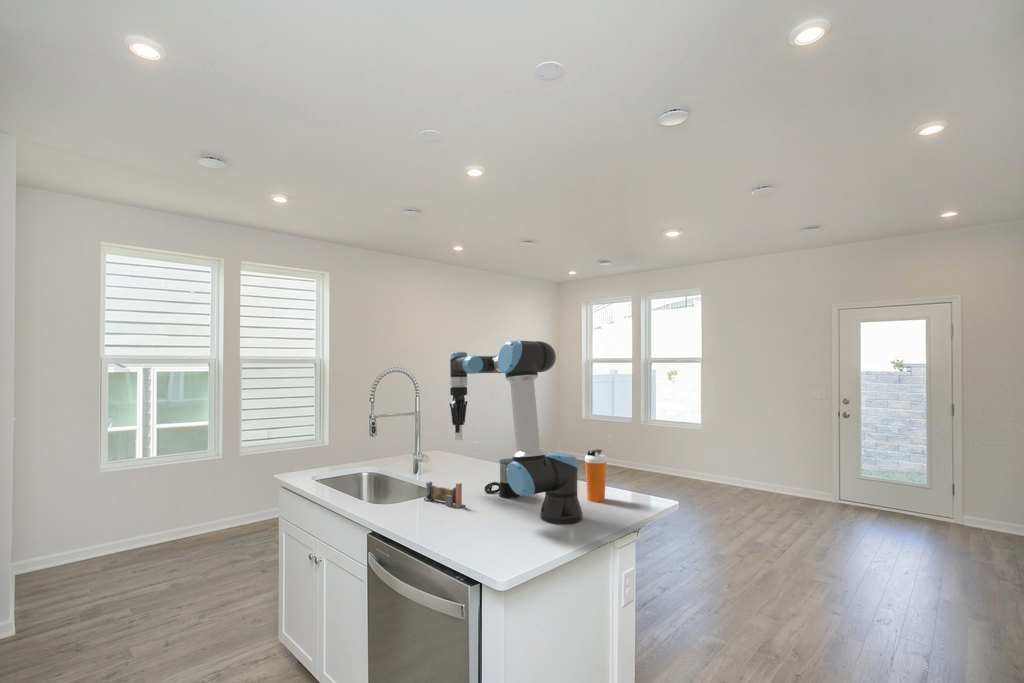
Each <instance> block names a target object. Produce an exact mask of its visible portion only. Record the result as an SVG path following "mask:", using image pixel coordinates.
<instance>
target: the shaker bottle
mask: <svg viewBox="0 0 1024 683" xmlns="http://www.w3.org/2000/svg"><path fill="white" fill-rule="evenodd" d="M603 451H604V450H603V449H593V450H587V452H586V453H587V454H586V455H585V456H584V462H585V475H586V476H585V477H586V481H585V482H586V495H587V496H586V497H587V499H586V500H588V501H589V502H593V503H601V502H604V501H605V499H606V479H607V478H606V474H607V462H608V461H607V460H608V458H607V456H606V455H605V454H604V453H602V452H603Z"/></svg>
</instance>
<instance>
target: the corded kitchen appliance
mask: <svg viewBox="0 0 1024 683" xmlns="http://www.w3.org/2000/svg"><path fill="white" fill-rule="evenodd" d="M498 462H499V482H498V481H493V482H490V483H487V484H486V485H485V486H484V491H485V492H486V493H487V494H495V493H499V497H501V498H504V499H516V498H519V497H521V495H518V494H516V493H515V492H514V491H513V490H512V488H511V487H510V485H509V483H508V479H507V468H508V465H509V464H510V463H511V462H513V461H512V458H502V459H499V460H498ZM493 486H497V487H498V488H497V489H494V490H492V489H493Z"/></svg>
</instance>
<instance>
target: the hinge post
mask: <svg viewBox="0 0 1024 683" xmlns="http://www.w3.org/2000/svg"><path fill="white" fill-rule="evenodd" d="M425 483H426V486H425V487H426V491H425V493H426V494H425V495H426V497H423V501H425V502H431V501H432V502H433V501H436V500H435V499H431V486H433V481H426V482H425Z"/></svg>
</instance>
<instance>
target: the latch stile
mask: <svg viewBox="0 0 1024 683" xmlns="http://www.w3.org/2000/svg"><path fill="white" fill-rule="evenodd" d="M462 484H463V483H462V482H457V483H455V487H456V504H453V496H450V495H446V502H445V507H448V508H449V507H450V508H455V509H462V508H464V507H466V504H465V503H464V504H463V503H462V502H463V501H462V498H463V495H462V494H463V490H462V488H463V486H462Z"/></svg>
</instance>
